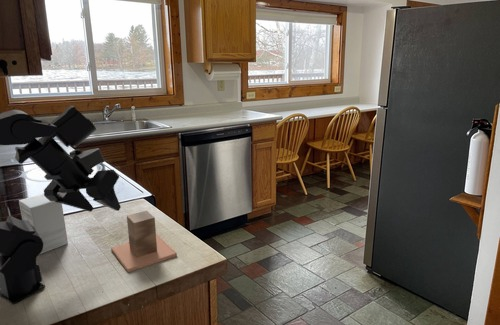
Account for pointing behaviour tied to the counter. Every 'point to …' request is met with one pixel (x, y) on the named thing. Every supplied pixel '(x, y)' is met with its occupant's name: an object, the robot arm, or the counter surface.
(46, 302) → the counter surface
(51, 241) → the supplement box
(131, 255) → the terracotta mat
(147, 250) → the walnut block
